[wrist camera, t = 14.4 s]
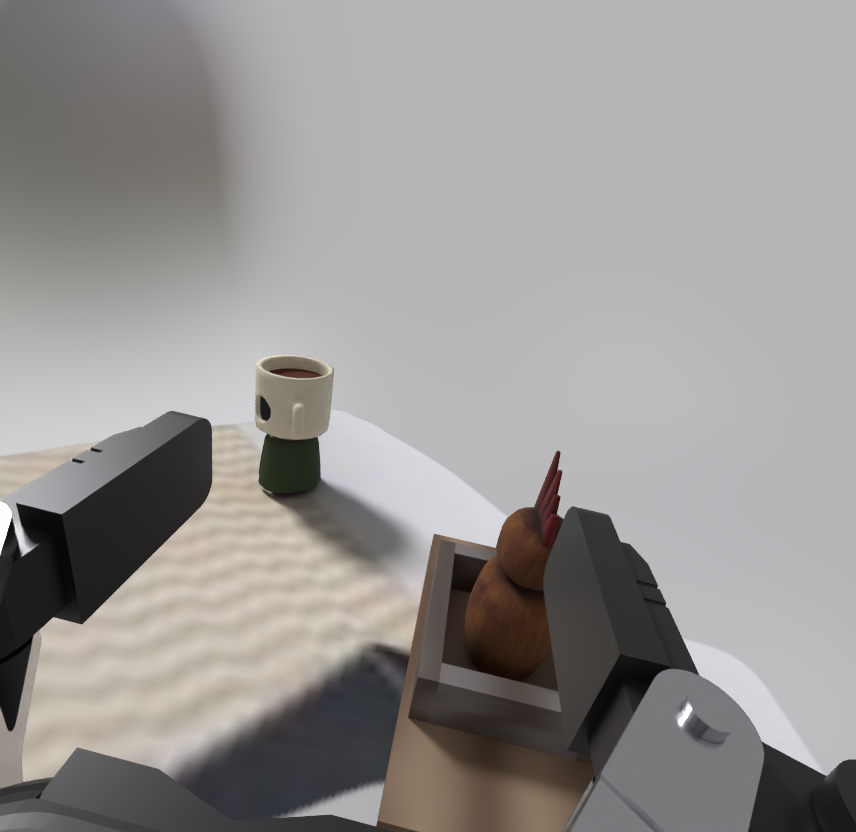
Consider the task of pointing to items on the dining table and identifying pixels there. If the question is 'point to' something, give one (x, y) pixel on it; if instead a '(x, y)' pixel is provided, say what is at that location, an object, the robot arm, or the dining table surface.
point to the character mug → (292, 419)
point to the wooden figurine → (516, 590)
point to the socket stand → (474, 725)
